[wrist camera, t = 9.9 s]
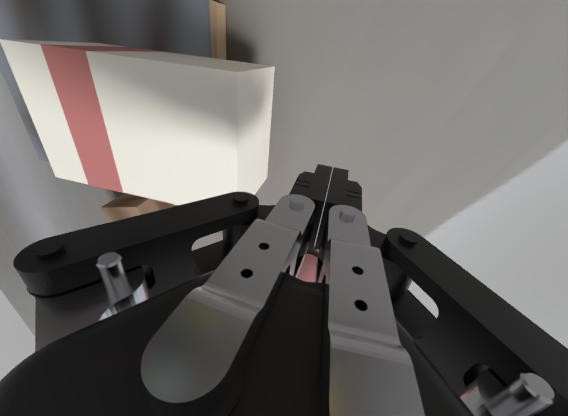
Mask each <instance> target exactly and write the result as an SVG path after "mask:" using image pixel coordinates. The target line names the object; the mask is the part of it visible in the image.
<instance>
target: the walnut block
mask: <svg viewBox="0 0 568 416" xmlns="http://www.w3.org/2000/svg"><path fill="white" fill-rule="evenodd" d="M170 207H174V206H173V204H171V203H167V202H163V201H158V200H154V199H150V198H145V197H141V196H137V195H132V194H128V193H124V194H123V195H121V196H119V197H117V198H116V199H114V200H112V201H111V202H109V203H107V204H106V205H104V206H102V207H101V209H102V211H103V213H104V215H105V216H106V218H107V220H108V222H109V223H110V222H114V221H118V220H122V219H126V218H130V217H134V216H138V215H142V214H146V213H150V212H154V211H158V210H162V209H166V208H170Z"/></svg>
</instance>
